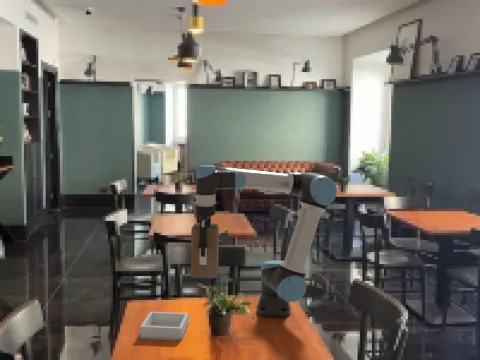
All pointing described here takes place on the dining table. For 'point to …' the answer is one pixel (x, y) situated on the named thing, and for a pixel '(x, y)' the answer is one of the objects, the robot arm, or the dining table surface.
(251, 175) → the robot arm
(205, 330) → the dining table surface
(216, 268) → the block
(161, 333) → the tray
